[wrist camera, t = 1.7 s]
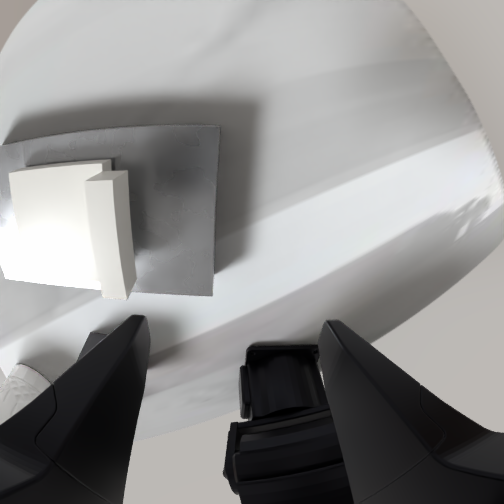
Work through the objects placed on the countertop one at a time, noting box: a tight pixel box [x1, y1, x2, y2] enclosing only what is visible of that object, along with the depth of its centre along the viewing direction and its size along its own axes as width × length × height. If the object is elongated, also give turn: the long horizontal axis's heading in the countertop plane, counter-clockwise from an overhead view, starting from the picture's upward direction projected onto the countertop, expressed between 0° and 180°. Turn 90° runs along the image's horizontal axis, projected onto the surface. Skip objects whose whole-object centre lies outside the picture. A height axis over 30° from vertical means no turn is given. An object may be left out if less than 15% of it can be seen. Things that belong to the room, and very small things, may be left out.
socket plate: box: [0, 125, 221, 296], centre depth 16 cm, size 17×10×2 cm, turn 85°
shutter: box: [9, 159, 137, 300], centre depth 13 cm, size 8×7×3 cm
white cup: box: [0, 364, 51, 425], centre depth 21 cm, size 8×8×10 cm
